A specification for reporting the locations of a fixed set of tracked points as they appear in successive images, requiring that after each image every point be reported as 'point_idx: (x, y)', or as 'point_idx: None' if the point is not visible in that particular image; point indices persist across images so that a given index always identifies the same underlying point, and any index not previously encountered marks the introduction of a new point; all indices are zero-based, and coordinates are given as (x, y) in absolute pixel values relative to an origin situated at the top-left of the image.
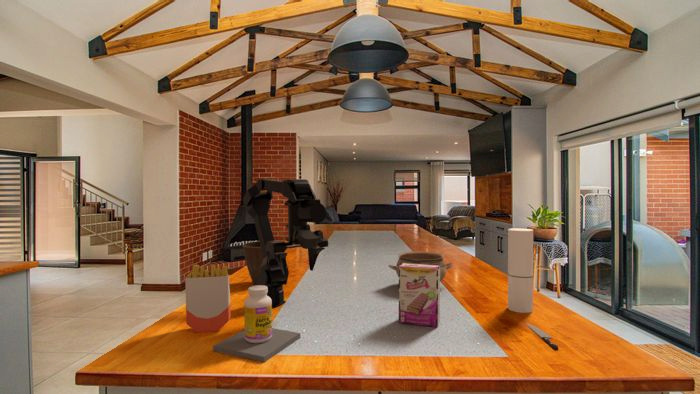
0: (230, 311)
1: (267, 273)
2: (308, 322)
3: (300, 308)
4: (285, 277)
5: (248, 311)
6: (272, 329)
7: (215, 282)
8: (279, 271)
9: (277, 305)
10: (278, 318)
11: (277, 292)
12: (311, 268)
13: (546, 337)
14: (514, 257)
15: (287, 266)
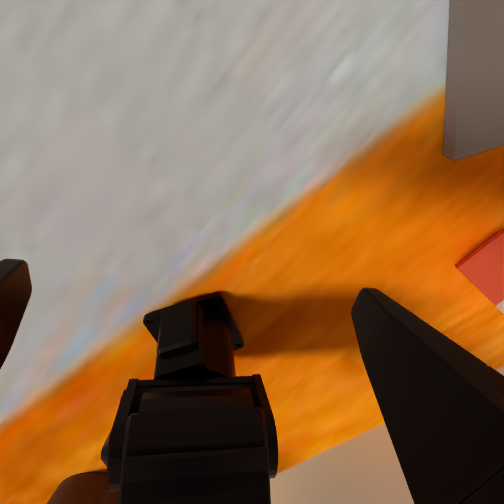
0: (470, 279)
1: (269, 443)
2: (240, 6)
3: (135, 218)
4: (153, 399)
5: None
6: (478, 30)
7: None
8: (198, 441)
9: (202, 298)
10: (294, 183)
11: (199, 343)
12: (16, 279)
13: None
14: None
15: (127, 473)
